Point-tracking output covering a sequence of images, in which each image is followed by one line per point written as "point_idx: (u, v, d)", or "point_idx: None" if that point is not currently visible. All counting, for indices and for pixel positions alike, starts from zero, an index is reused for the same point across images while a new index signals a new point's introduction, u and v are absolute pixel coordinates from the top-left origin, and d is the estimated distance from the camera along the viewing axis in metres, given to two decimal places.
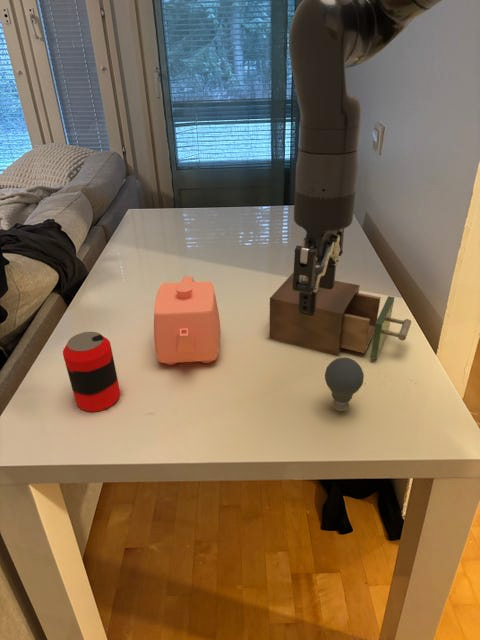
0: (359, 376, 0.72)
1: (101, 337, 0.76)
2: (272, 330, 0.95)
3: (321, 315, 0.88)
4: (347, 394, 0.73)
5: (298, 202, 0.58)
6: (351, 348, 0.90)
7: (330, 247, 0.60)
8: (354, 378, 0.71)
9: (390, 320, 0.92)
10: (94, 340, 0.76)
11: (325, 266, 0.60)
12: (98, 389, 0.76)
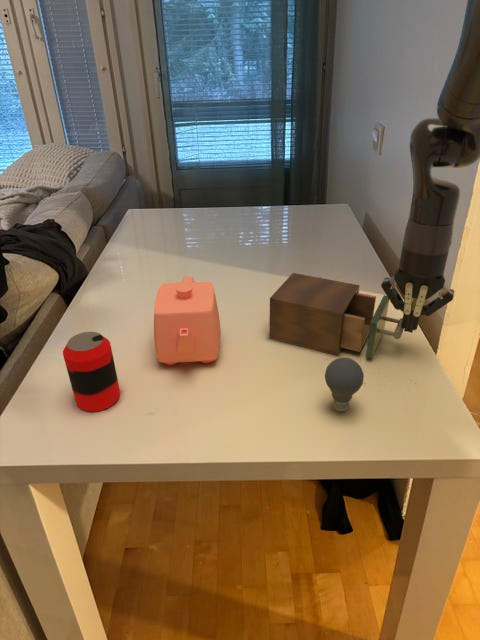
0: (359, 376, 0.72)
1: (101, 337, 0.76)
2: (272, 330, 0.95)
3: (321, 315, 0.88)
4: (347, 394, 0.73)
5: None
6: (346, 347, 0.90)
7: (405, 286, 0.83)
8: (354, 378, 0.71)
9: (385, 319, 0.92)
10: (94, 340, 0.76)
11: (407, 298, 0.84)
12: (98, 389, 0.76)
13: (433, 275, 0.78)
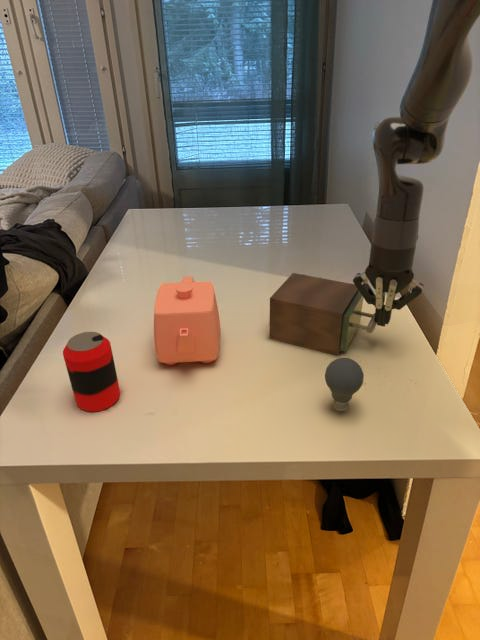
0: (359, 376, 0.72)
1: (101, 337, 0.76)
2: (272, 330, 0.95)
3: (321, 315, 0.88)
4: (347, 394, 0.73)
5: None
6: None
7: (376, 281, 0.85)
8: (354, 378, 0.71)
9: (360, 314, 0.94)
10: (94, 340, 0.76)
11: (378, 293, 0.86)
12: (98, 389, 0.76)
13: (401, 269, 0.81)
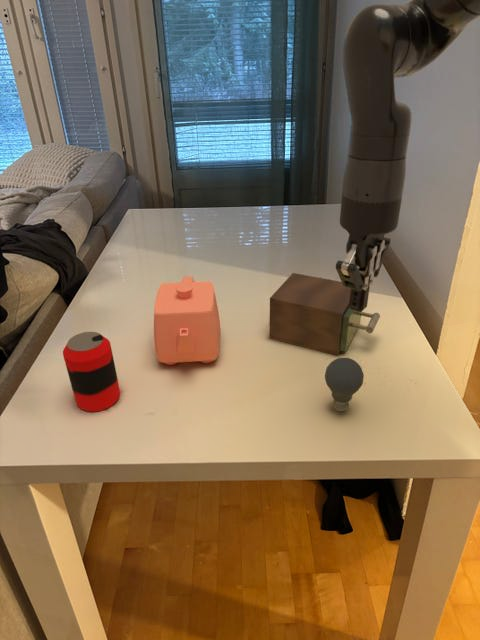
0: (359, 376, 0.72)
1: (101, 337, 0.76)
2: (272, 330, 0.95)
3: (321, 315, 0.88)
4: (347, 394, 0.73)
5: (343, 205, 0.60)
6: None
7: (372, 254, 0.62)
8: (354, 378, 0.71)
9: (360, 314, 0.94)
10: (94, 340, 0.76)
11: (371, 268, 0.63)
12: (98, 389, 0.76)
13: None
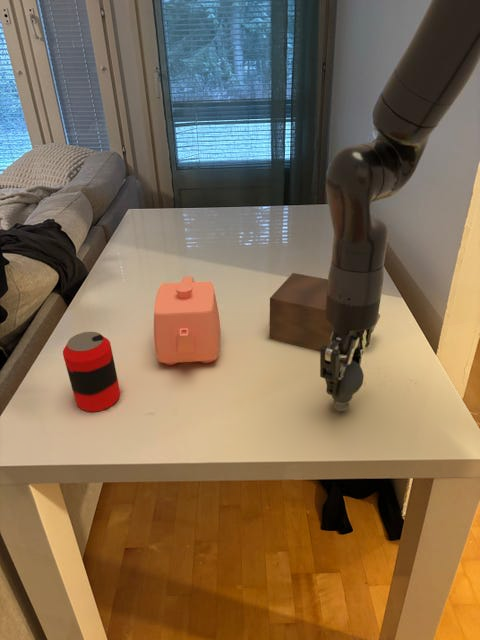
0: (359, 376, 0.72)
1: (101, 337, 0.76)
2: (272, 330, 0.95)
3: (321, 315, 0.88)
4: (346, 395, 0.73)
5: (328, 303, 0.66)
6: None
7: (354, 343, 0.68)
8: (353, 378, 0.71)
9: None
10: (94, 340, 0.76)
11: (350, 358, 0.69)
12: (98, 389, 0.76)
13: None
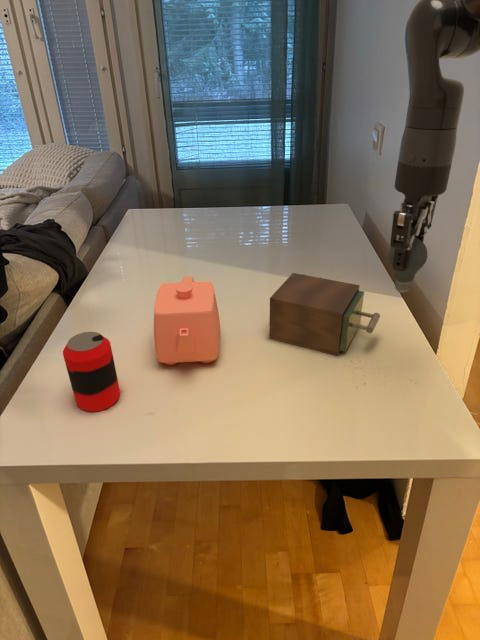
0: (424, 251, 0.74)
1: (101, 337, 0.76)
2: (272, 330, 0.95)
3: (321, 315, 0.88)
4: (411, 270, 0.76)
5: (400, 170, 0.69)
6: None
7: (424, 212, 0.70)
8: (419, 251, 0.74)
9: (360, 314, 0.94)
10: (94, 340, 0.76)
11: (419, 228, 0.71)
12: (98, 389, 0.76)
13: None
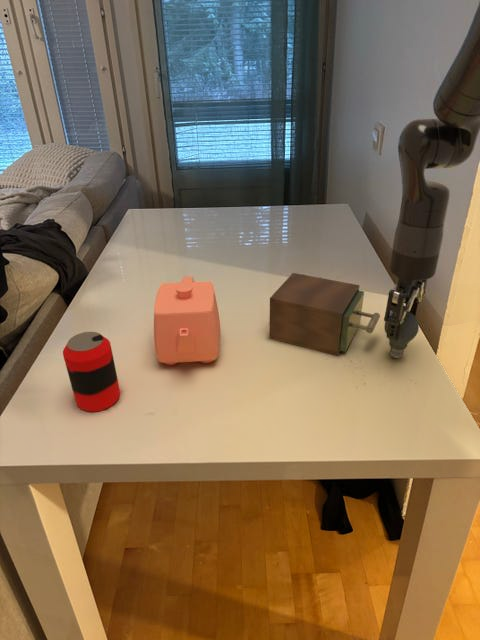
0: (416, 325, 0.84)
1: (101, 337, 0.76)
2: (272, 330, 0.95)
3: (321, 315, 0.88)
4: (404, 341, 0.85)
5: (394, 257, 0.78)
6: None
7: (416, 291, 0.80)
8: (411, 326, 0.83)
9: (360, 314, 0.94)
10: (94, 340, 0.76)
11: (411, 305, 0.80)
12: (98, 389, 0.76)
13: None
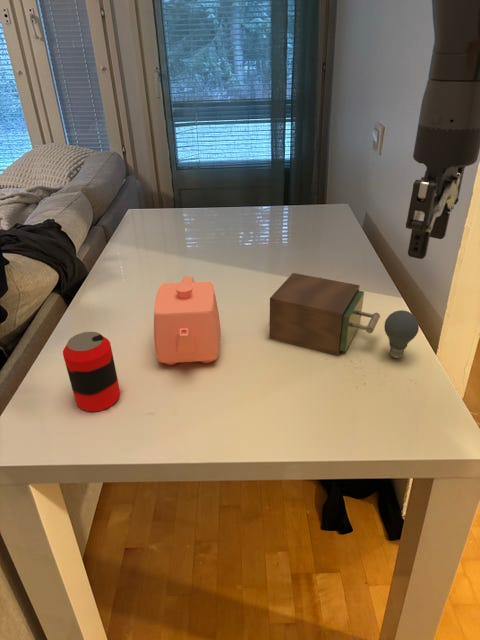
0: (416, 325, 0.84)
1: (101, 337, 0.76)
2: (272, 330, 0.95)
3: (321, 315, 0.88)
4: (404, 341, 0.85)
5: (421, 136, 0.56)
6: None
7: (450, 186, 0.58)
8: (411, 326, 0.83)
9: (360, 314, 0.94)
10: (94, 340, 0.76)
11: (442, 205, 0.58)
12: (98, 389, 0.76)
13: None
